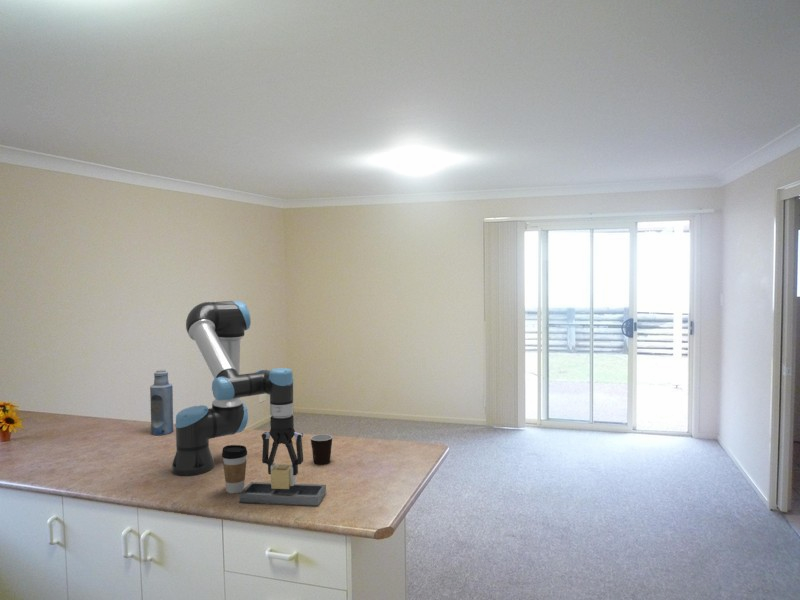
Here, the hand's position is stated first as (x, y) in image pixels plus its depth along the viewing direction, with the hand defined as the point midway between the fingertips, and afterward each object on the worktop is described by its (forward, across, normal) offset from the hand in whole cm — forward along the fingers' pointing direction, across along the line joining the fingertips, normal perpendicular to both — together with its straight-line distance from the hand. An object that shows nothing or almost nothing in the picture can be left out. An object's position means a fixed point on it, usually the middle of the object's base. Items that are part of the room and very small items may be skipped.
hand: (283, 483), depth 176 cm
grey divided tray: (+5, 0, 0) cm, 5 cm away
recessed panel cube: (0, 0, 0) cm, 0 cm away
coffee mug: (+5, +4, +36) cm, 37 cm away
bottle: (+5, -83, +67) cm, 107 cm away
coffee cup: (+5, -19, +5) cm, 20 cm away
